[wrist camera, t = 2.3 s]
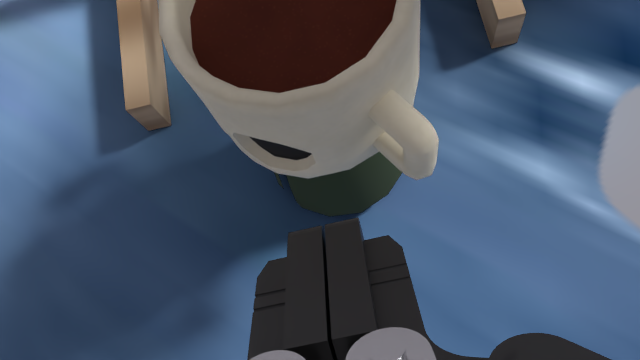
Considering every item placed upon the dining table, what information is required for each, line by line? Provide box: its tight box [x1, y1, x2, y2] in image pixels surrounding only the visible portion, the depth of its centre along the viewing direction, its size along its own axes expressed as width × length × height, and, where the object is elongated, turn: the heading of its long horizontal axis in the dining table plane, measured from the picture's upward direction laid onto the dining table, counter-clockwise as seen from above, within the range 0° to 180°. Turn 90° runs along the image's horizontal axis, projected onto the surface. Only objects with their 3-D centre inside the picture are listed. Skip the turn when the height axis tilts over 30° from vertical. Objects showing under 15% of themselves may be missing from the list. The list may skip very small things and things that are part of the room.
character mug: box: [158, 0, 439, 216], centre depth 22 cm, size 11×7×13 cm, turn 43°
